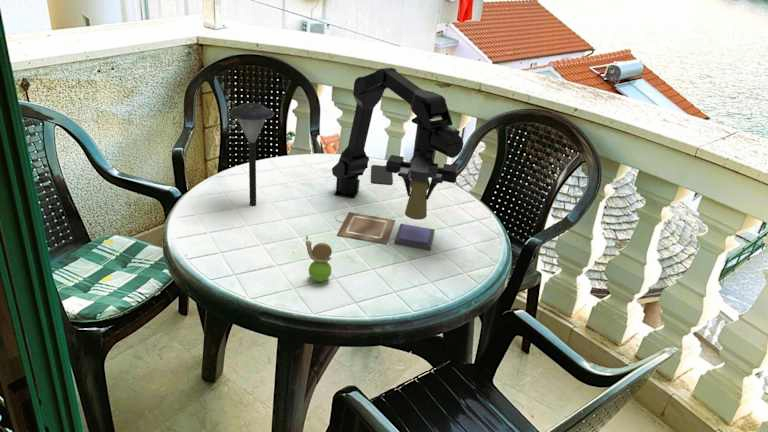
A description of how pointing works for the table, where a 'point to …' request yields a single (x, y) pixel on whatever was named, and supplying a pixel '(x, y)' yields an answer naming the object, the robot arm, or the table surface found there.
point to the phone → (381, 175)
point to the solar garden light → (251, 135)
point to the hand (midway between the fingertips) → (418, 197)
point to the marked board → (366, 228)
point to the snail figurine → (319, 261)
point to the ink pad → (414, 236)
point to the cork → (417, 200)
